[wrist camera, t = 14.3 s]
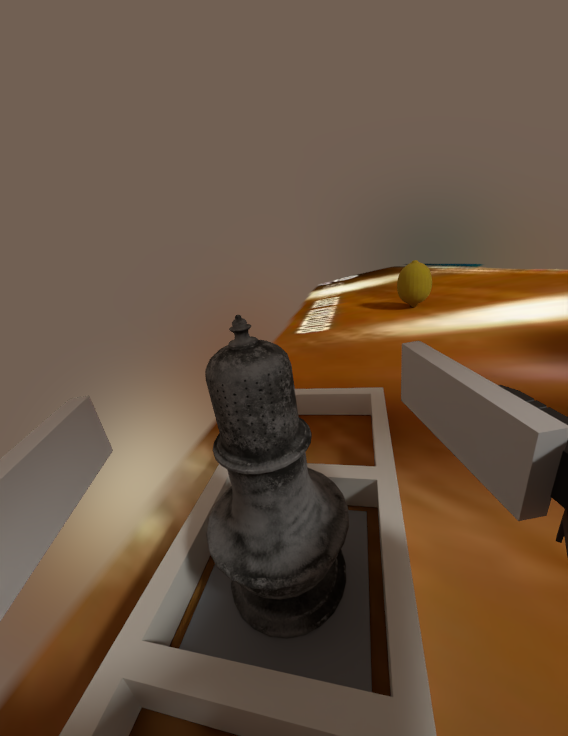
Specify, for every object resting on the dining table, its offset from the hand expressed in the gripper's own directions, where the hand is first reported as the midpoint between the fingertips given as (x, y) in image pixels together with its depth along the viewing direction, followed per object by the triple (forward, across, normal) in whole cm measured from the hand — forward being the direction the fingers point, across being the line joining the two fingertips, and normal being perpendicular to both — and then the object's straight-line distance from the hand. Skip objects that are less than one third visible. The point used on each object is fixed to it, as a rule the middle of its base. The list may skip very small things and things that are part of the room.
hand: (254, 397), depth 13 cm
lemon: (+40, +28, -8) cm, 50 cm away
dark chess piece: (-2, 0, -8) cm, 8 cm away
